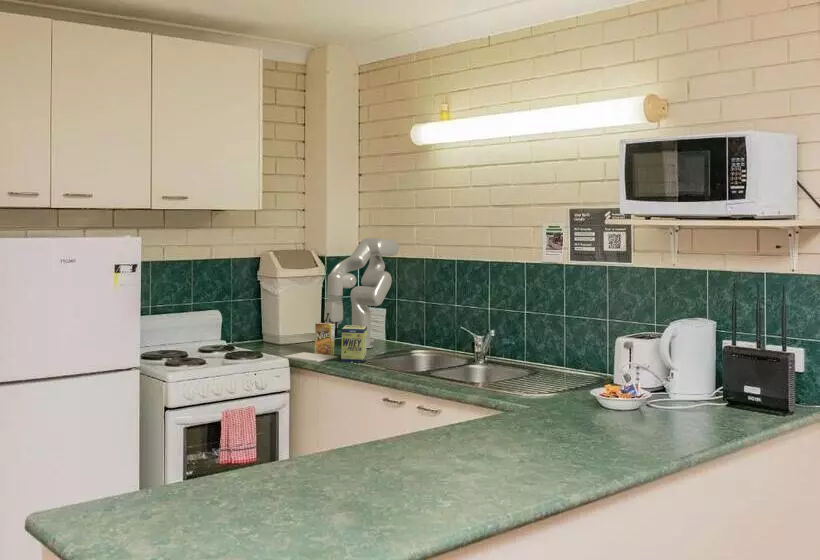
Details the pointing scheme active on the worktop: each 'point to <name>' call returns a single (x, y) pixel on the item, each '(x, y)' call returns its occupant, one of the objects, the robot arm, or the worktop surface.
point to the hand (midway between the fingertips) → (333, 336)
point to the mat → (310, 356)
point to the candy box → (324, 338)
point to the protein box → (353, 343)
